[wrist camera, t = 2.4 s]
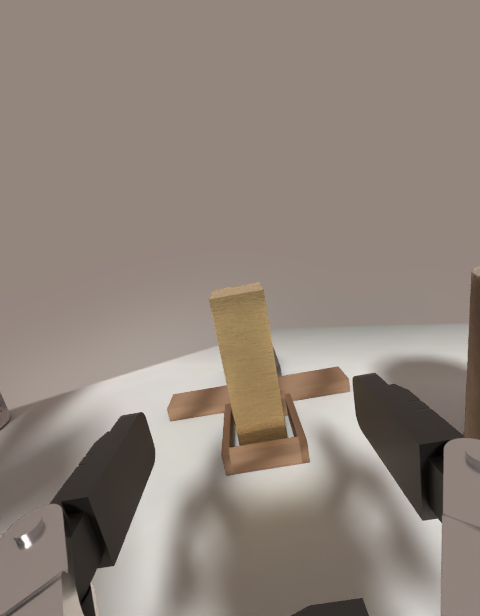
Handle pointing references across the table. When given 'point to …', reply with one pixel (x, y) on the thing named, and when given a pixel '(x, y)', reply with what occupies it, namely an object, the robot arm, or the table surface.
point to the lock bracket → (290, 390)
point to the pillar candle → (473, 361)
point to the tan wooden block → (248, 362)
